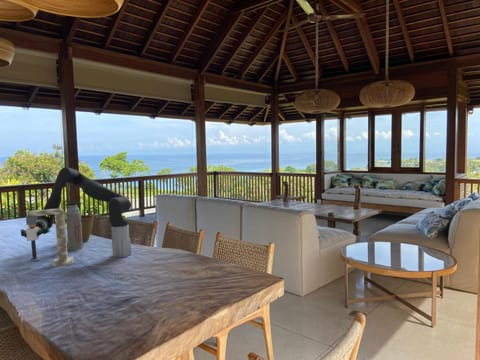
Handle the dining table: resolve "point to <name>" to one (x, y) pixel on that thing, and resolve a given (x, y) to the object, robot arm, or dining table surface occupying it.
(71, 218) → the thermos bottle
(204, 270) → the dining table surface
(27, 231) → the sleeve
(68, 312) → the dining table surface
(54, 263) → the stand
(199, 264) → the dining table surface
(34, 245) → the dark grey piece
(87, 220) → the plant pot
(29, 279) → the dining table surface
